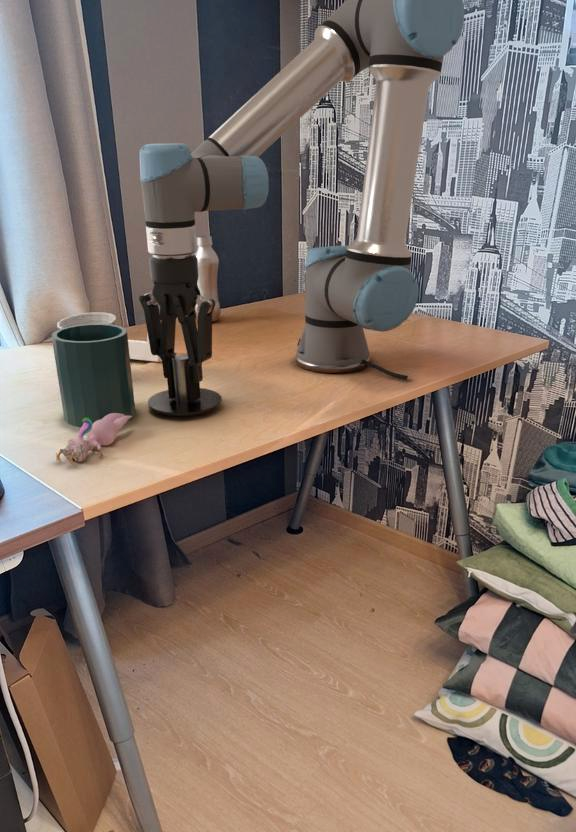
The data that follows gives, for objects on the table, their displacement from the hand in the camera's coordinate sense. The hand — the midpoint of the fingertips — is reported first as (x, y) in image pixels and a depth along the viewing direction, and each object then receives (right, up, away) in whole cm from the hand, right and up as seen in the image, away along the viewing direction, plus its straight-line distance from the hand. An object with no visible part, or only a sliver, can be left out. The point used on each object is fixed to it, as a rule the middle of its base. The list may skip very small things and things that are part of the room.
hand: (184, 397), depth 123 cm
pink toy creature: (-11, -10, -13) cm, 20 cm away
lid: (0, -1, 0) cm, 1 cm away
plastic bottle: (-2, +28, +57) cm, 64 cm away
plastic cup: (-20, +5, +15) cm, 26 cm away
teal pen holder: (-14, -4, -2) cm, 14 cm away
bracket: (-14, +13, +30) cm, 35 cm away
